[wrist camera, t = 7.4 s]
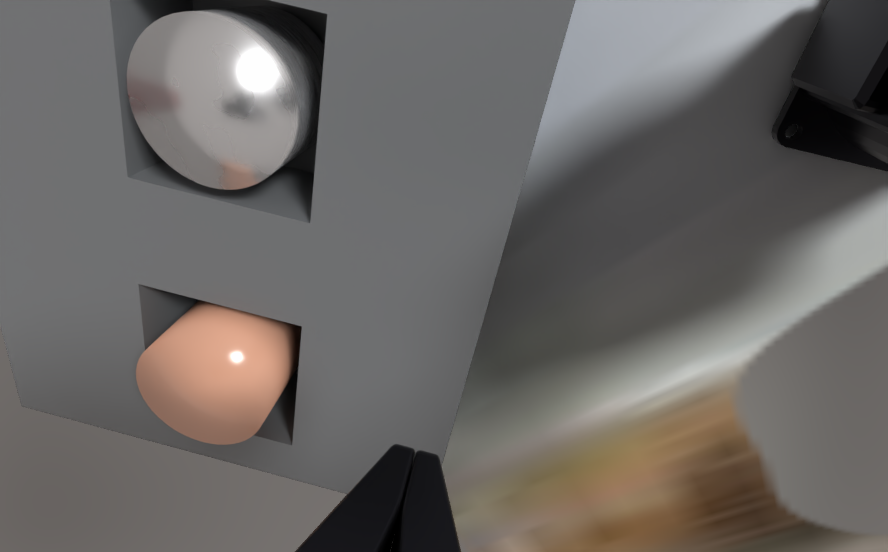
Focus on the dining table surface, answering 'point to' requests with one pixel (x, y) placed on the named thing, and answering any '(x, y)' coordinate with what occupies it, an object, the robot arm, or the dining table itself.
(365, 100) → the block
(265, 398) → the terracotta plunger
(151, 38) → the grey plunger
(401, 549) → the robot arm
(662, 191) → the dining table surface
